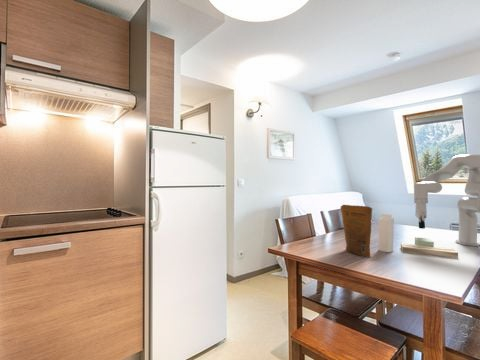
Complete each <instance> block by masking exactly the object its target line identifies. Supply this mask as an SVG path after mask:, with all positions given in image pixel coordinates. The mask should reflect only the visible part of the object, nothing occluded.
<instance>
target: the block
mask: <svg viewBox="0 0 480 360" xmlns="http://www.w3.org/2000/svg"><path fill="white" fill-rule="evenodd" d="M434 244H435V242H434V241H433V240H432V239H431V238H426V237H414V245H422V246H432V247H435V245H434Z"/></svg>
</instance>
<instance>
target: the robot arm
mask: <svg viewBox="0 0 480 360" xmlns="http://www.w3.org/2000/svg"><path fill="white" fill-rule="evenodd" d="M463 168H466V170H467V172H468V178H467V181H466V184H465V186H464V193H465V194H466V195H467V197H466V196H463V197H461V198H459V199H458V200H457V208H458V218H459V219H458V239H456V240H455V243H456V244H459V245H464V246H469V247H470V246H472V247H479V245H480V243H479V242H478V219H479V218H478V215H477V214H480V154H470V153H469V154H458V155H455V156H452V158H450V159H449V160H448V161H447V162H446V163H445V164H444V165H443V166H441V168H439V169H437V170H436V171H434V172H432V173H430V174H428V175H427V176H425V177H424V178H423V179H422V180H421V181H420V182H414V183H413V198H414V200H413V201H414V204H415V217H416V218H417V219H418V228H419V229H421V230H422V229H426V222H425V219H427V216H428V215H427V204H429V194H438V193H441V191H442V189H443V186H442V184H441V181H446V180H449V179H451V178H453V177H454V176H455V175H456V174H457V173H459V171H461V169H463Z"/></svg>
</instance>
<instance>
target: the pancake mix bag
mask: <svg viewBox="0 0 480 360" xmlns="http://www.w3.org/2000/svg"><path fill="white" fill-rule="evenodd" d="M340 213H341V219H342V225H343V232H344V239H345V245H346V246H345V251H346V252H347V253H349V254H354V255H357V256H360V257H363V258H372V257H371V248H370V247H371V246H370V244H371V234H372V233H371V232H372V217H373V208H372V207H370V206H366V205H365V206H364V205H352V204H351V205H350V204H342V205H340Z"/></svg>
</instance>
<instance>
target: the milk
mask: <svg viewBox="0 0 480 360" xmlns="http://www.w3.org/2000/svg"><path fill="white" fill-rule="evenodd" d="M380 215H381V216H380V217H379V218H378V251H381V252H386V253H391V252H393V251H394V235H395V234H394V232H395V231H394V230H395V228H394V226H395V221H394V218H393V217H392V216H393V215H392V214H390V213H389V214H387V213H381V214H380Z"/></svg>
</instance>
